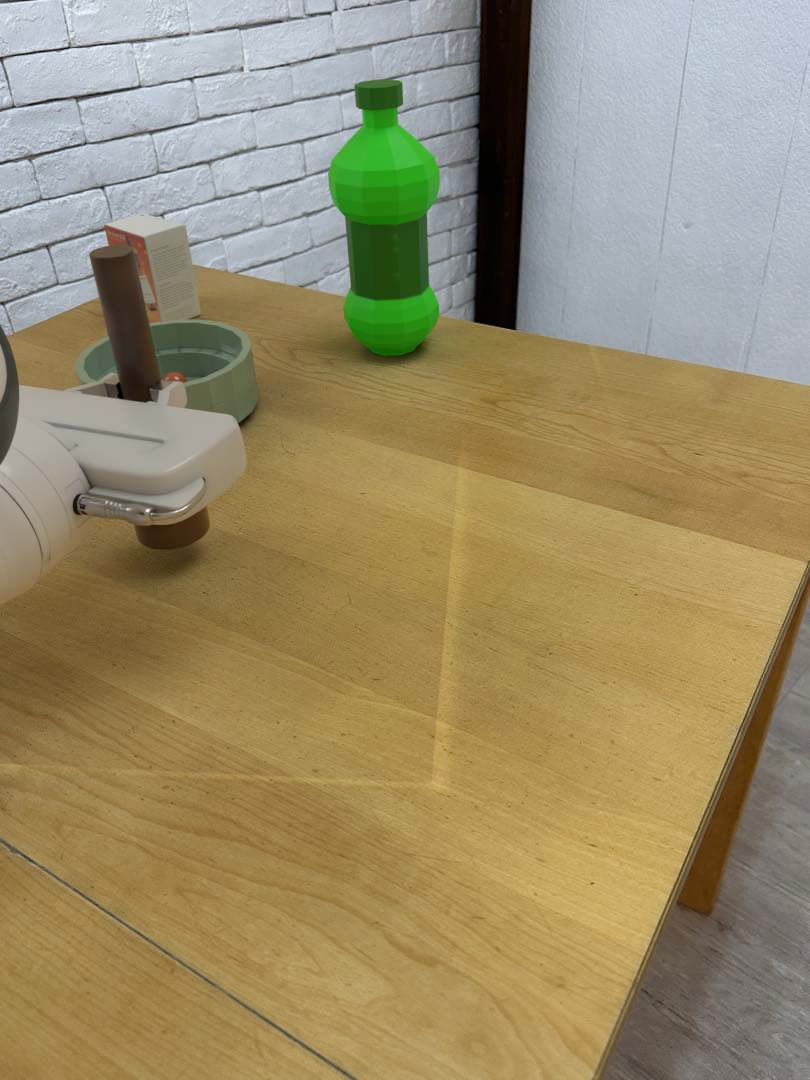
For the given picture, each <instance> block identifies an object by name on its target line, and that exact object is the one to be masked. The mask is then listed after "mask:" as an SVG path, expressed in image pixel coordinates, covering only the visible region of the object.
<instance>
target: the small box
mask: <svg viewBox="0 0 810 1080" xmlns="http://www.w3.org/2000/svg"><path fill="white" fill-rule="evenodd" d="M103 227H104V232H105V235H106V241H107V244H108V245H107V246H111V245H127V246H131V247H132V248H133V249H134V253H135V257H136V262H137V267H138V272H139V277H140V281H141V286H142V291H143V296H144V300H145V305H146V310H147V315H148V319H149V323H155V322H163V321H171V320H192V319H193V318H196V317H199V316H200V315H201V314H202V311H201V305H200V300H199V294H198V289H197V282H196V275H195V271H194V265H193V260H192V254H191V253H192V252H191V249H190V248H191V247H190V242H189V238H188V237H189V236H188V230H187V225H186V224H185V223H182V222H175V221H172V220H168V219H165V218H161V217H158V216H154V215H152V214H149V213H146V212H142V213H138V214H135V215H131V216H128V217H125V218H119V219H117V220H114V221H110V222H107V223H104V224H103Z"/></svg>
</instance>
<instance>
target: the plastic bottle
mask: <svg viewBox="0 0 810 1080" xmlns="http://www.w3.org/2000/svg"><path fill="white" fill-rule="evenodd" d="M353 86H354V97H355V99H354V101H355V107H356V108H357V109H358V110H361V113H362V114H361V115H362V126H361V127H360V128H359V129H358V130H357V131H356V132H355V133H354V134H353V135H352V136H351V137H350V138H349V139H348V140H347V141H346V142H345V143H344V145H343V146H342V147H341V148H340V150H339V151H338V152H337V153H336V155H335V156H333V158H332V159H331V161H330V165H329V169H328V173H327V181H328V190H329V193H330V196H331V200H332V204H333V205H334V206H335V207H336V208H337V209H338V211H339V212H340V213H341V214H342V215H343V216H344V219H345V221H344V222H345V230H346V233H345V234H346V246H347V257H348V267H349V281H350V288H349V290H348V292H347V294H346V295H345V296H346V297H345V300H344V303H343V317H344V320H345V322H346V324H347V326H348V329H349V330H350V332H351V334H352V335H353V336H354V338H355V340H357V341H358V343H359V344H361V345H363V346H364V347H365V348H367V350H368V349H369V350H370V352H371V353H373V354H377V355H381V356H384V357H388V356H389V357H391V356H393V357H394V356H403V355H406V354H409V353H411V352H414V351H415V350H416V348H417V347H418V346H419V345H420V344H422V343H423V342H424V340H425V339H426V338H427V337H428V336H429V335H430V333H431V332H432V331H433V330H434V328H435V327H436V325H437V322H438V320H439V317H440V304H439V303H440V302H439V301H438V298H437V296H436V293H435V291H434V290H433V289H432V287H431V285H430V271H429V242H428V241H429V238H428V211H429V210H430V209H431V208H432V207H433V205H434V204H435V203H436V201H437V200H438V197H439V190H440V185H441V183H440V168H439V166H438V163H437V161H436V158H435V156H434V155H433V153H431V152H430V151H429V150H428V149H427V148H426V147H425V146H424V145H423V144H422V143H421V142H420V141H419V140H418V139H417V138H416V137H415V136H413V134H411V133H410V132H409V131H407V130H406V129H405V128H403V126H401V125H400V124H399V113H398V108H400V107H401V106H403V105H404V90H403V89H404V88H403V87H404V86H403V82H402V81H401V80H398V79H387V78H386V79H371V80H363V81H359V82H357V83H355V84H354V85H353Z"/></svg>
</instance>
